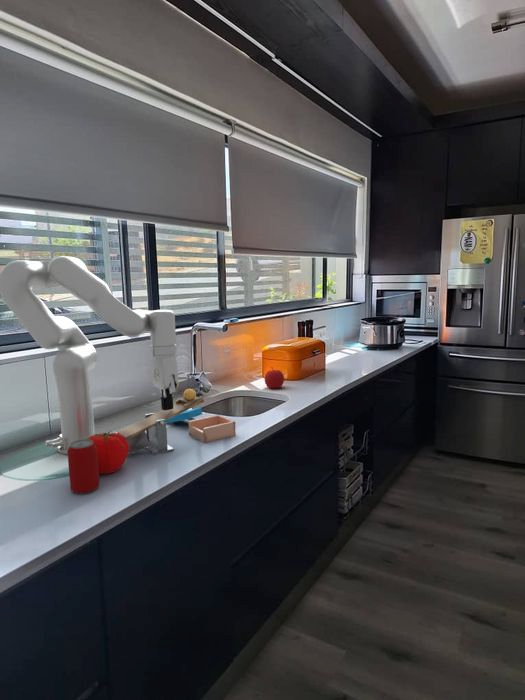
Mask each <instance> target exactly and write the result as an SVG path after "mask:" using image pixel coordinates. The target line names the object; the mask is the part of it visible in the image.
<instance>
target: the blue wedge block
mask: <svg viewBox="0 0 525 700" xmlns="http://www.w3.org/2000/svg"><path fill="white" fill-rule="evenodd" d="M202 415H203V410H202V407H197V408H191V409H188V410H186V411H184V412H182V413H180V414H178V415H176V416H174V417H172V418H170V419H168V420H166V424H170V423H176V422H180V421H188V422H189V421H191V420H196V419H197V418H196V417H198V416H202ZM195 418H196V419H195Z"/></svg>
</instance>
